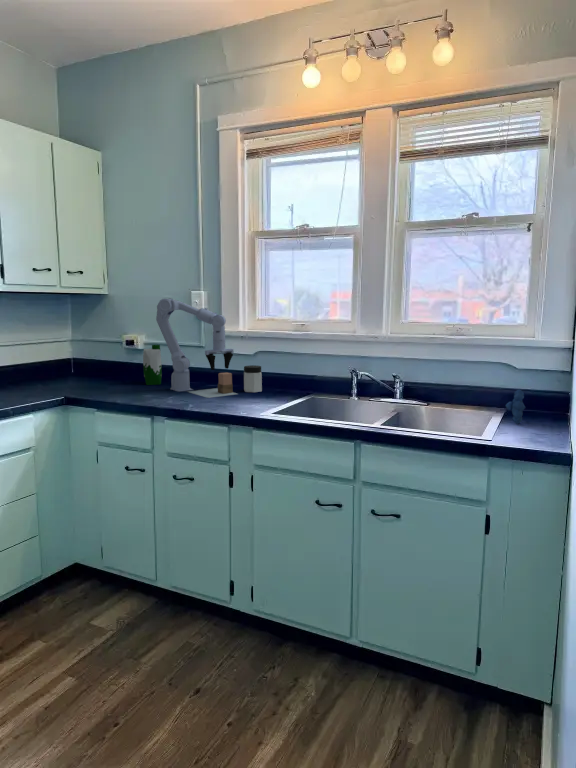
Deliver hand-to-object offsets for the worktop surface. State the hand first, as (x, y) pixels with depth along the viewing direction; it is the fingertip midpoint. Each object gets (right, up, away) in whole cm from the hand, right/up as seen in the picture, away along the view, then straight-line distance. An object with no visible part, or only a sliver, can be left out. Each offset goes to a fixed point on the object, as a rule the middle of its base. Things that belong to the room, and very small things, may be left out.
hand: (219, 369), depth 256 cm
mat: (-3, -12, -6) cm, 13 cm away
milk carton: (-37, -7, +22) cm, 44 cm away
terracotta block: (+3, -7, -7) cm, 10 cm away
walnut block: (+3, -11, -6) cm, 13 cm away
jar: (+16, -11, -1) cm, 19 cm away
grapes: (+113, -21, -64) cm, 132 cm away
